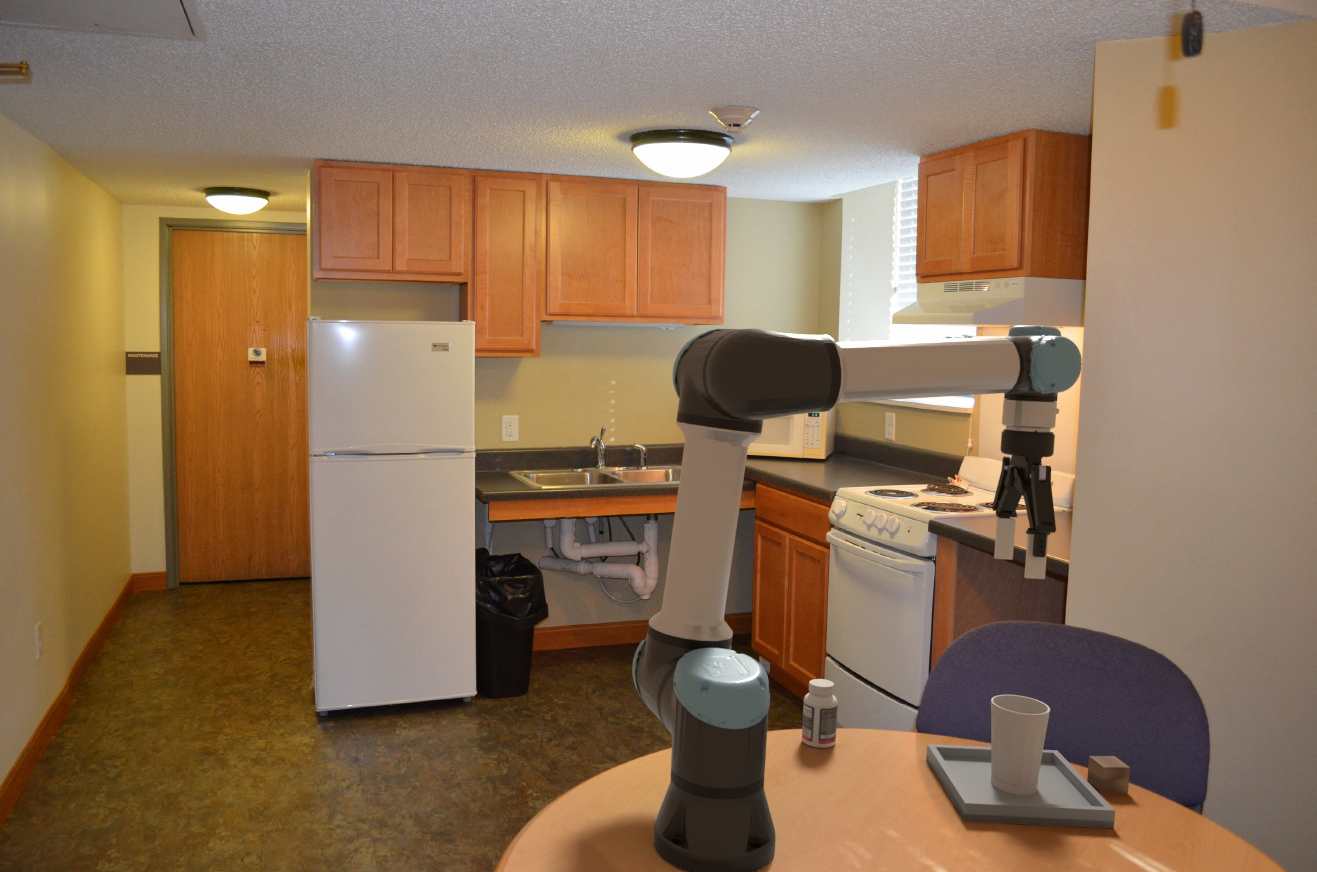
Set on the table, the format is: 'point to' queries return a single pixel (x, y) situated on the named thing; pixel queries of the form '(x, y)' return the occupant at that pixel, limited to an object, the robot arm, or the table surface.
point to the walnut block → (1108, 774)
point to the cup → (1017, 742)
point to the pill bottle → (820, 714)
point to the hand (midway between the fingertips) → (1018, 568)
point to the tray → (979, 801)
